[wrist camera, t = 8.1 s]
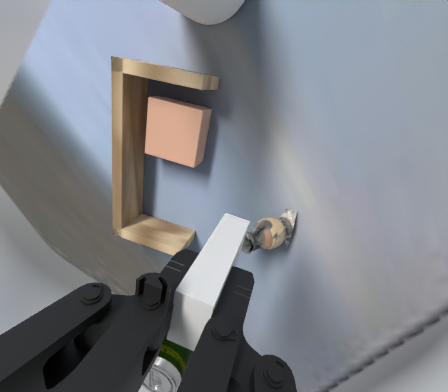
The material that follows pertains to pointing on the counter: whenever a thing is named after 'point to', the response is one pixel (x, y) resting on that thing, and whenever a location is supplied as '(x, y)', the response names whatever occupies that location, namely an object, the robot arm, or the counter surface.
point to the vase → (270, 232)
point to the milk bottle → (206, 9)
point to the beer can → (168, 367)
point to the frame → (142, 151)
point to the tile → (177, 130)
